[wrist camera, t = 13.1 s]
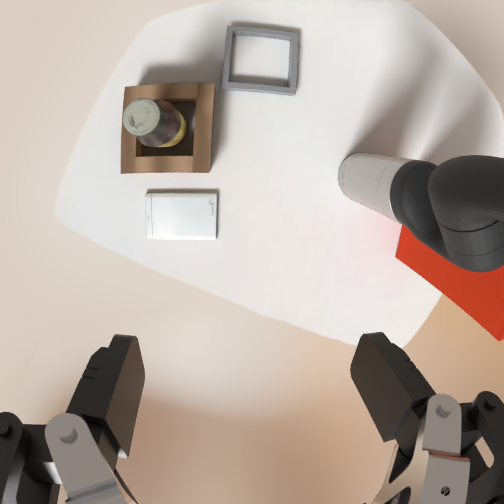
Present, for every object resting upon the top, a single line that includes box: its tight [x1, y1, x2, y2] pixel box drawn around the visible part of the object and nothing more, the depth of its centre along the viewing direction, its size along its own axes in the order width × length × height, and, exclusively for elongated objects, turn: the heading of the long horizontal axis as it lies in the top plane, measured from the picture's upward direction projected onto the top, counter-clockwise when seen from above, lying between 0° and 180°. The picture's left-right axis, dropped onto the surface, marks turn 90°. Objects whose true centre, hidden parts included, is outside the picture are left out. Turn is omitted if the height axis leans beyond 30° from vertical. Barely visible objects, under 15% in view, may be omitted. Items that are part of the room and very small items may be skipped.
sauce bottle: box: [123, 98, 187, 147], centre depth 32 cm, size 6×6×20 cm
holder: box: [121, 83, 215, 174], centre depth 39 cm, size 14×14×5 cm
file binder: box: [396, 225, 504, 341], centre depth 37 cm, size 8×17×32 cm, turn 176°
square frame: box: [221, 26, 299, 96], centre depth 38 cm, size 12×12×2 cm
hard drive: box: [145, 193, 217, 240], centre depth 47 cm, size 2×8×12 cm
